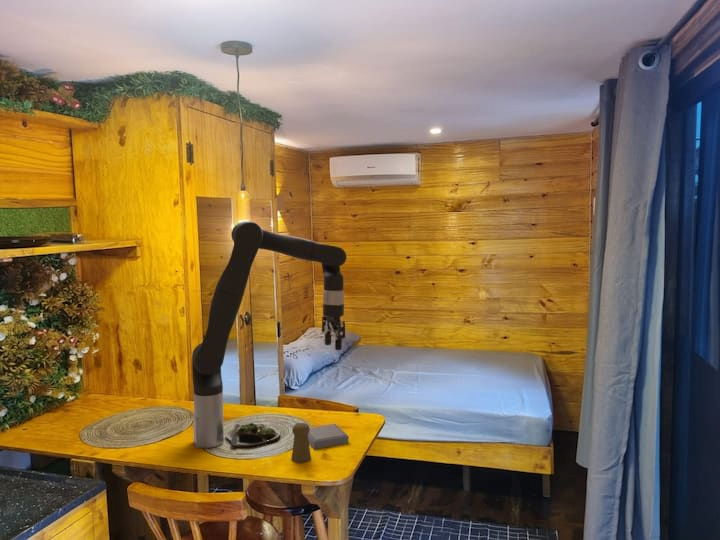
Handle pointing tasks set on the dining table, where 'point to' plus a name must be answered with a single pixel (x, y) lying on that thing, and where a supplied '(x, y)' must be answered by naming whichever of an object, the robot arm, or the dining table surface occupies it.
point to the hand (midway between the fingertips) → (333, 347)
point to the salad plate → (252, 435)
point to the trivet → (326, 436)
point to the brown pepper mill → (301, 443)
